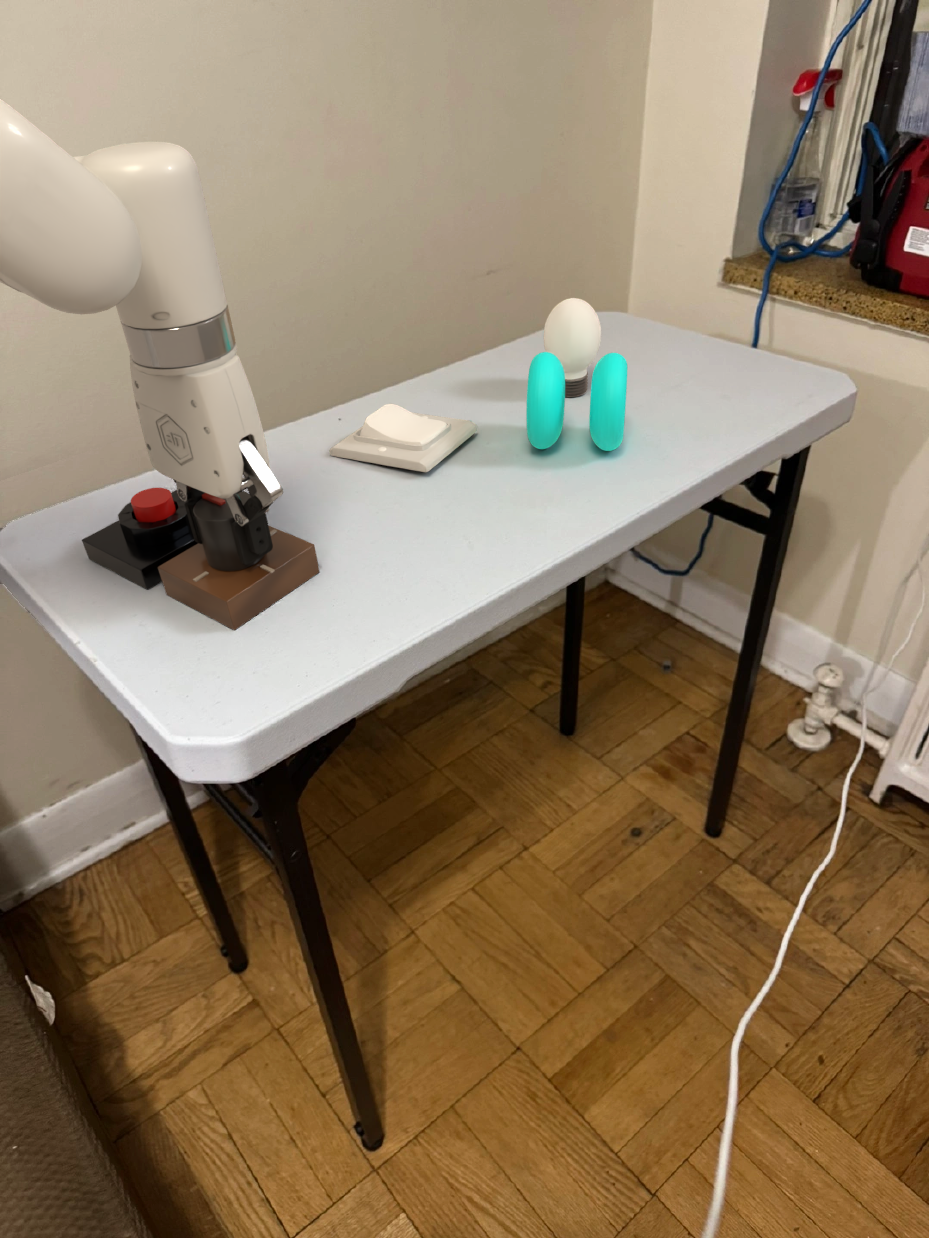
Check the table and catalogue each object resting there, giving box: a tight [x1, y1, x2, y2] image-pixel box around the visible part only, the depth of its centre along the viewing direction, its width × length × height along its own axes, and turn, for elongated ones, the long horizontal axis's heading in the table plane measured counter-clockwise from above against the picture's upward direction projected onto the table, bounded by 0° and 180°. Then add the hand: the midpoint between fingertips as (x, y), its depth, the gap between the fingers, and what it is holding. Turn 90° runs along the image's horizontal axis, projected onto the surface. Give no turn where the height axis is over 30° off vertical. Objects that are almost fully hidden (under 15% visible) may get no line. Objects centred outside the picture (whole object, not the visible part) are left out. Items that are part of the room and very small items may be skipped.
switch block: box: [81, 489, 198, 591], centre depth 81 cm, size 11×9×4 cm
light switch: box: [329, 402, 478, 473], centre depth 95 cm, size 11×4×13 cm
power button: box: [130, 487, 176, 522], centre depth 79 cm, size 4×4×2 cm
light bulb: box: [543, 297, 602, 398], centre depth 102 cm, size 7×7×11 cm
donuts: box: [525, 351, 628, 452], centre depth 91 cm, size 10×10×10 cm
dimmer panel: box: [158, 524, 320, 631], centre depth 76 cm, size 10×9×3 cm
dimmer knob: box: [193, 490, 264, 571], centre depth 73 cm, size 5×5×5 cm
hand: (233, 544), depth 74 cm, fingers closed on dimmer knob, 5 cm apart
